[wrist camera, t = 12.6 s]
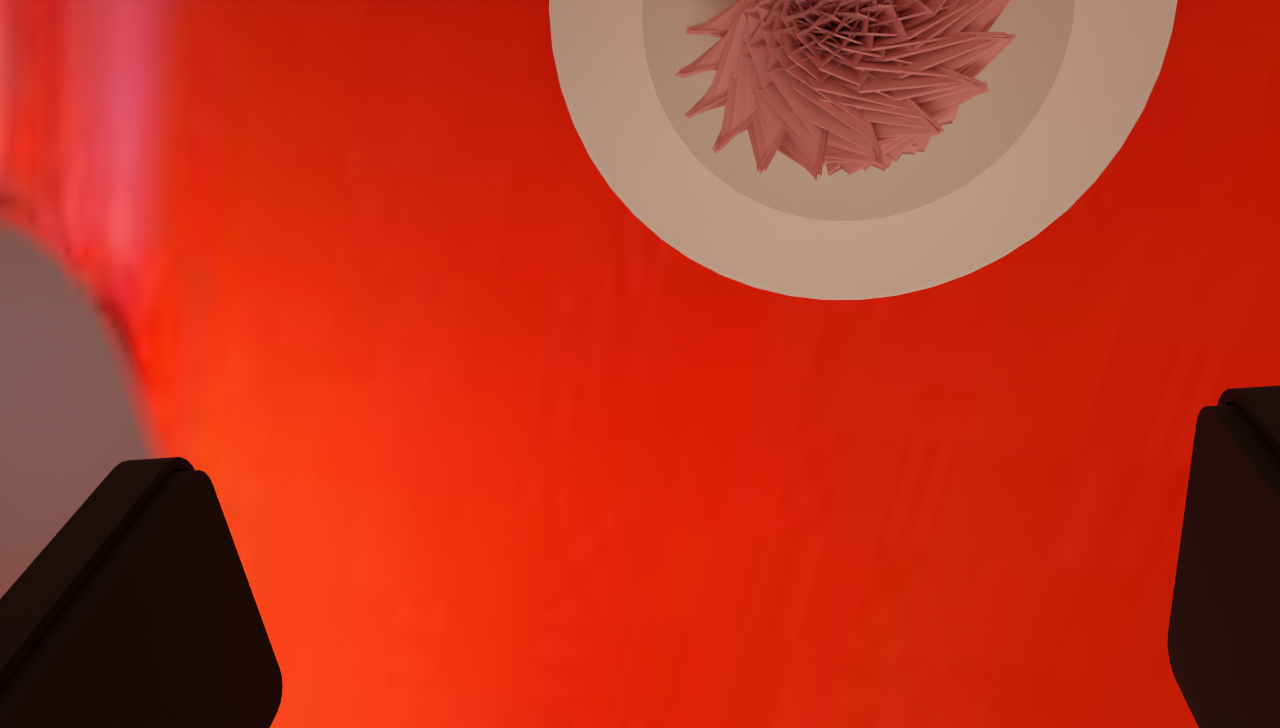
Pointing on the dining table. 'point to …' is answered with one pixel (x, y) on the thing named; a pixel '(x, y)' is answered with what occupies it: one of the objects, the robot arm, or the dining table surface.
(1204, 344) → the dining table surface
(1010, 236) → the plate
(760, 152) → the flower
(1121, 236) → the dining table surface
